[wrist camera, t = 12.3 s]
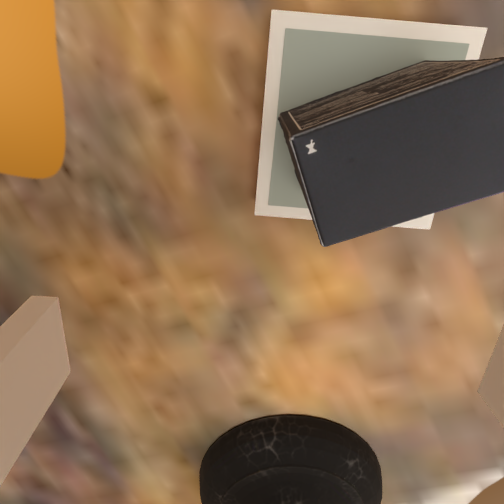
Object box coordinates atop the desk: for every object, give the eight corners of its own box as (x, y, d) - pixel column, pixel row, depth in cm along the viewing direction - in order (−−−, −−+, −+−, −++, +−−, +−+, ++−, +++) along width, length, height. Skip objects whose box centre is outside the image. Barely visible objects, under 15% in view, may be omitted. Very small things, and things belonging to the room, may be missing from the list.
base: (255, 200, 35) (254, 216, 31) (270, 17, 29) (271, 8, 25) (412, 213, 35) (431, 230, 31) (459, 33, 29) (489, 27, 25)
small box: (302, 197, 30) (320, 255, 20) (275, 113, 27) (282, 133, 18) (443, 151, 28) (534, 190, 19) (428, 56, 26) (525, 45, 16)
